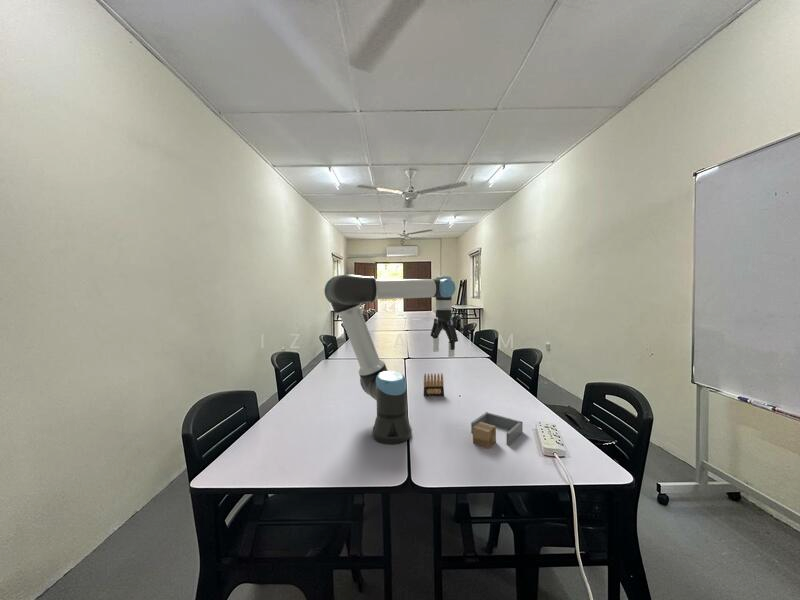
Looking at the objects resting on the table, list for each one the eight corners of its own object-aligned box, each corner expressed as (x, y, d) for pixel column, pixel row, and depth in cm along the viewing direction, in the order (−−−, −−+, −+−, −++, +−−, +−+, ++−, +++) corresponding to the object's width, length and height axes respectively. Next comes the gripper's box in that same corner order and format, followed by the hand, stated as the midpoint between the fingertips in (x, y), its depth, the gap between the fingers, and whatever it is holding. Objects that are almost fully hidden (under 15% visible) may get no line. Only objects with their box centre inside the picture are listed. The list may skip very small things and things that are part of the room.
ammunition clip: (423, 396, 160) (423, 373, 159) (423, 395, 161) (423, 372, 161) (444, 396, 160) (443, 373, 159) (443, 394, 161) (443, 372, 161)
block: (488, 449, 106) (488, 432, 106) (473, 443, 110) (472, 427, 110) (496, 442, 111) (495, 426, 110) (480, 437, 115) (480, 421, 114)
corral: (509, 445, 108) (509, 434, 108) (471, 432, 118) (471, 422, 118) (522, 432, 118) (522, 421, 118) (486, 421, 128) (486, 412, 128)
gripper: (466, 310, 134) (465, 358, 134) (436, 307, 156) (436, 349, 157) (451, 310, 131) (451, 359, 131) (424, 308, 153) (423, 350, 154)
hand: (443, 354), depth 144 cm, fingers open, 13 cm apart
